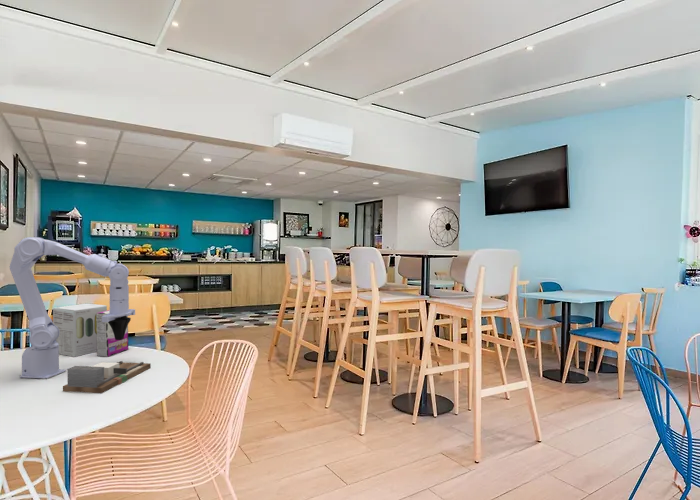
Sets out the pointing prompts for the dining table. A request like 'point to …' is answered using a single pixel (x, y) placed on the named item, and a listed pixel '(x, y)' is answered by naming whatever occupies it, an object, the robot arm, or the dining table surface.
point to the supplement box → (77, 328)
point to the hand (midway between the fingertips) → (119, 339)
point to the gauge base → (113, 378)
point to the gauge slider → (111, 369)
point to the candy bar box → (108, 338)
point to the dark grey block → (85, 376)
